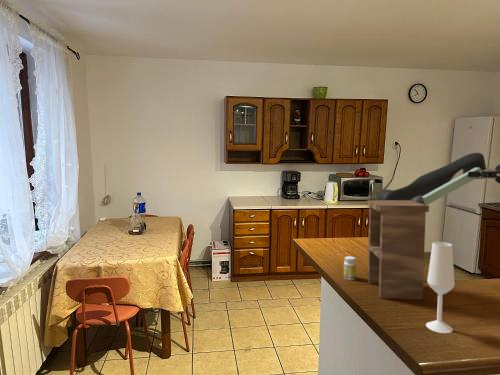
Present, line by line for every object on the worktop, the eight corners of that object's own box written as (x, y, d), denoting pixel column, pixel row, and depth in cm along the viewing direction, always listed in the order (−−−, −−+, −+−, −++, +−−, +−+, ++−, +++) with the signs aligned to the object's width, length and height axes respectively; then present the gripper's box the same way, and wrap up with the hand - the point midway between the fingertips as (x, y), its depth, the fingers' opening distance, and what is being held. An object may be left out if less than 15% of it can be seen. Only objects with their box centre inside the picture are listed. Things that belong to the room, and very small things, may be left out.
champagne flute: (430, 319, 102) (433, 239, 100) (456, 327, 97) (459, 243, 95) (421, 327, 97) (424, 243, 95) (448, 335, 92) (451, 248, 90)
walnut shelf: (365, 281, 133) (366, 200, 131) (407, 282, 132) (409, 200, 130) (377, 298, 117) (379, 205, 115) (425, 299, 116) (428, 205, 114)
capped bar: (413, 208, 139) (408, 200, 139) (477, 173, 136) (473, 165, 136) (418, 210, 135) (413, 201, 134) (484, 174, 132) (479, 165, 132)
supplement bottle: (356, 276, 139) (356, 256, 138) (355, 280, 135) (356, 259, 134) (343, 275, 141) (344, 255, 140) (343, 279, 136) (343, 258, 136)
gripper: (500, 164, 140) (456, 164, 141) (525, 164, 126) (476, 164, 127) (499, 182, 141) (455, 182, 142) (524, 184, 127) (475, 185, 128)
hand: (466, 174), depth 134 cm, fingers closed on capped bar, 3 cm apart
